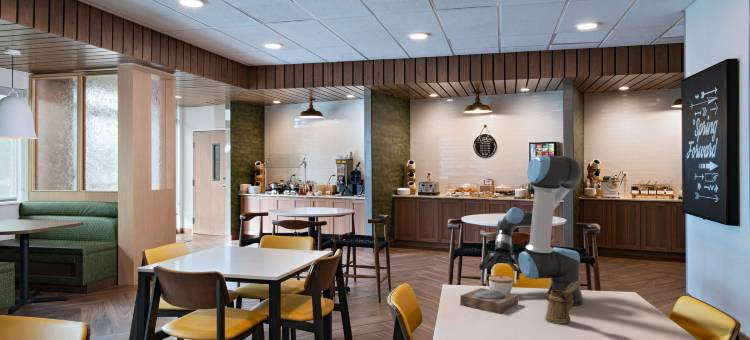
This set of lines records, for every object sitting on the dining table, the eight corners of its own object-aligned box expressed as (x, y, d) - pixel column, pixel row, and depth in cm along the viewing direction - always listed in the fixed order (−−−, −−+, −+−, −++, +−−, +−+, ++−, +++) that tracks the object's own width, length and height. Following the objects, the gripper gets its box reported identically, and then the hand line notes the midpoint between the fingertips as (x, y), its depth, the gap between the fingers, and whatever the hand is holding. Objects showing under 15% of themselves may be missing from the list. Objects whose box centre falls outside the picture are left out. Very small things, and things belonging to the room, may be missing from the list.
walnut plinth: (518, 304, 219) (518, 294, 219) (499, 313, 205) (499, 302, 205) (480, 296, 230) (480, 287, 230) (460, 304, 216) (460, 294, 216)
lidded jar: (488, 296, 231) (488, 276, 230) (488, 291, 241) (488, 271, 241) (512, 298, 228) (513, 277, 228) (511, 292, 239) (512, 272, 239)
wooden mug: (568, 329, 187) (569, 280, 187) (540, 318, 199) (541, 273, 198) (584, 326, 191) (586, 278, 191) (556, 316, 203) (557, 271, 203)
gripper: (529, 252, 246) (528, 290, 232) (477, 248, 254) (473, 285, 240) (529, 243, 241) (528, 281, 227) (476, 239, 249) (471, 276, 235)
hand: (499, 283), depth 234 cm, fingers open, 13 cm apart
